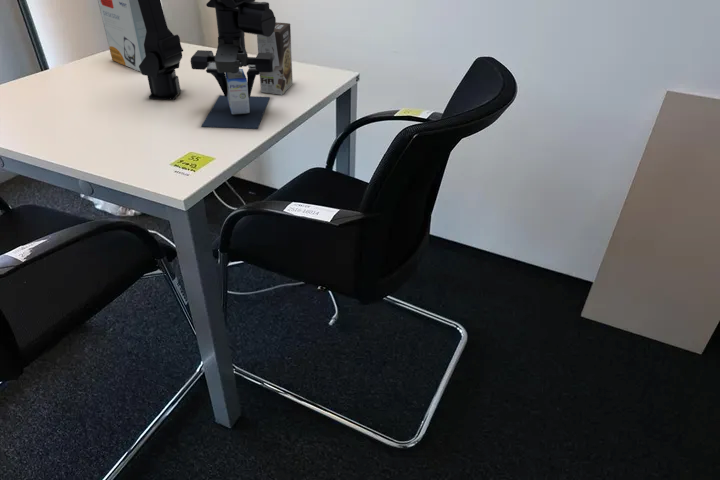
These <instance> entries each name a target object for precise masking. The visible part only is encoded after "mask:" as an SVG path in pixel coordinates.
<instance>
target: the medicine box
mask: <svg viewBox="0 0 720 480" xmlns="http://www.w3.org/2000/svg"><path fill="white" fill-rule="evenodd" d="M225 77H226V83H227V93H228V95H227V96H228V104H229V107H230V110H231V113H232V114H246V113H250V109H249V97H248V85H247V75H246V73H245V71H244V68H239V71H238V72H237V73H234V74H233V73H226V72H225Z"/></svg>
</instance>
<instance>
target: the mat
mask: <svg viewBox="0 0 720 480" xmlns="http://www.w3.org/2000/svg"><path fill="white" fill-rule="evenodd" d="M270 99H271V97H270V96H251V95H250V98H249V109H250V113H246V114H232V113H231V110H230V107H229V104H228V96H227V97H225V95H224V94H223V95H219V96H218V97H217V99H216V100H215V103H214V104H213V105H212V108H211V109H210V110H209V112H208V113H207V116H206V118H205V119H204V121H203V122H202V124H201V127H200V128H219V129H244V130H245V129H247V130H259V126H260V124H261V121H262V119H263V116H264V114H265V111H266V109H267V106H268V104H269V101H270Z"/></svg>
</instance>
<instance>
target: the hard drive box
mask: <svg viewBox="0 0 720 480" xmlns="http://www.w3.org/2000/svg"><path fill="white" fill-rule="evenodd" d="M97 3H98V7H99V11H100V16H101V19H102V23H103V28H104V32H105V33H104V34H105V36H106V40H107V44H108V45H107V46H108V49H109V53H110V58H111V61H113V62H116V63H117V64H120V65H123V66H124V67H125V66H126V67H127V68H130V69H132V70H134V71H137V72H140V73H141V71H140V69H139V65H140V64H141V62H142V61H143V59H144V58H145V57H146V55H145V49H144V41H145V36H146V28H145V24H144V21H143V17H142V14H141V10H140V7H139V3H138V0H97Z"/></svg>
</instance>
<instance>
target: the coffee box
mask: <svg viewBox="0 0 720 480" xmlns="http://www.w3.org/2000/svg"><path fill="white" fill-rule="evenodd" d="M291 34H292V33H291V23H289V22H277V21H276V25H275V29H274V32H273V34H272V35H271V36H269V37H266V36H260V35H256V42H257V54H258V53H273V54H274V55H275V58H276V66H275V68H274V70H273V72H261V73H260V74H259V83H260V84H259V85H260V92H261V93H263V94H273V95H280V96H282V95H284V94H285V93H286V91H287V90H288V89H290V87H291V86H292V85H293V56H292V35H291Z"/></svg>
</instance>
